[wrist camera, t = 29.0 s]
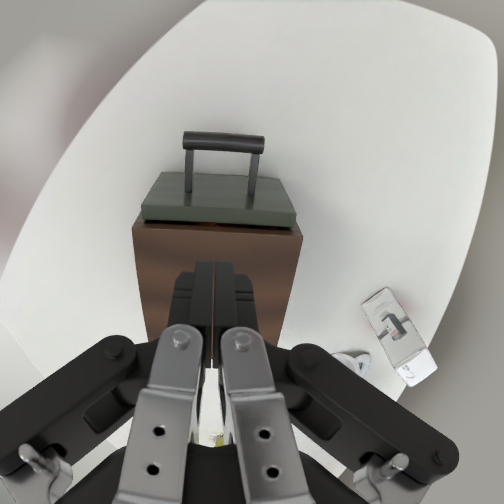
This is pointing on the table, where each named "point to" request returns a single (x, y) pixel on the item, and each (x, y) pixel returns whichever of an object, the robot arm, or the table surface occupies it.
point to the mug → (355, 362)
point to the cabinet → (214, 248)
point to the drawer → (219, 189)
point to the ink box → (399, 338)
